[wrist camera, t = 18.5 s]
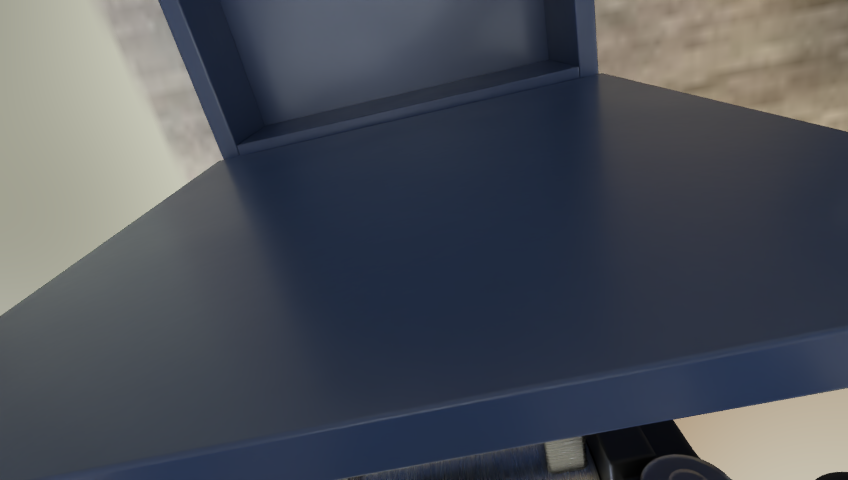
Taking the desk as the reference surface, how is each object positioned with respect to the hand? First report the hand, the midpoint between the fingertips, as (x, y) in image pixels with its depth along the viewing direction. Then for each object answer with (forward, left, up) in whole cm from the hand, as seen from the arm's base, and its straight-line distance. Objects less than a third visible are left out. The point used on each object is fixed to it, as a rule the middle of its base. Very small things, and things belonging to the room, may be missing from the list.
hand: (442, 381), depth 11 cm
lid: (-3, -3, -3) cm, 5 cm away
